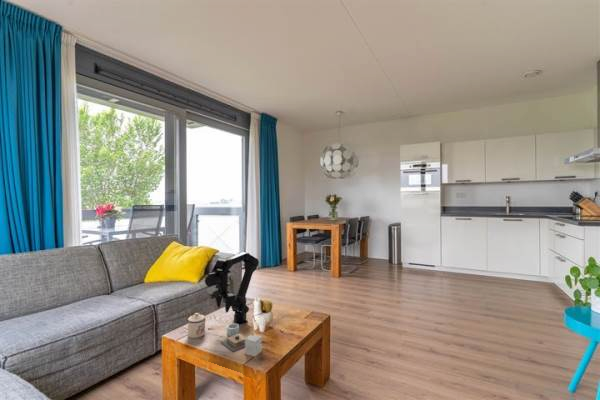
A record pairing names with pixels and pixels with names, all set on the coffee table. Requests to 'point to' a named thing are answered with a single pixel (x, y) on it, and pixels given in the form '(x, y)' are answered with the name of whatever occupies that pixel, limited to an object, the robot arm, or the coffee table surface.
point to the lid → (236, 340)
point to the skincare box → (253, 345)
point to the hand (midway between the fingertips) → (222, 309)
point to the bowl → (232, 329)
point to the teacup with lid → (196, 326)
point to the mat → (232, 346)
